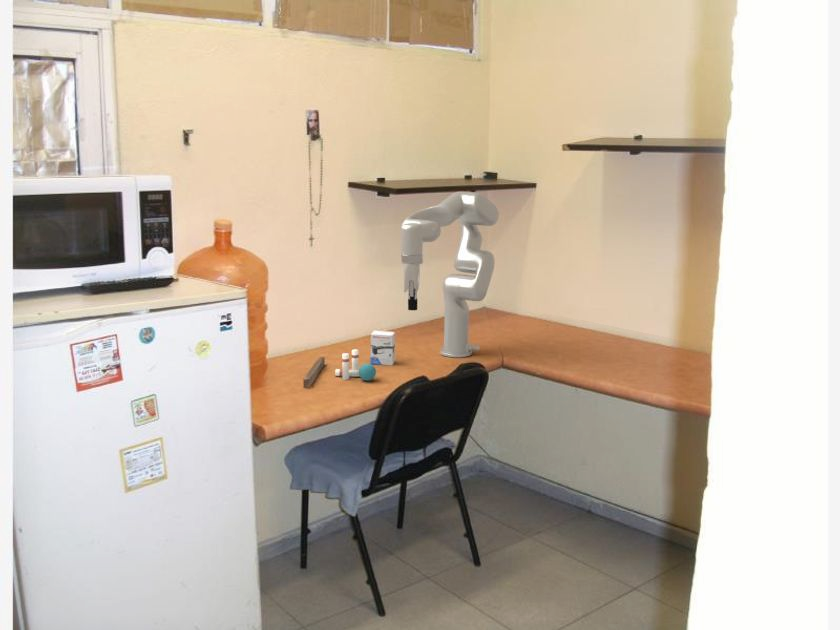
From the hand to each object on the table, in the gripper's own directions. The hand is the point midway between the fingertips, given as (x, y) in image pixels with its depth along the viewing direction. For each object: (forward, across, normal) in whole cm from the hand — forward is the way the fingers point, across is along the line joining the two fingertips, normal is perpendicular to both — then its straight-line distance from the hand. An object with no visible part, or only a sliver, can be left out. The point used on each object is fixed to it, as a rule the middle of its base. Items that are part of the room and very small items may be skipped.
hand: (412, 309), depth 284 cm
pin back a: (+22, +6, -20) cm, 31 cm away
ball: (+19, +12, -15) cm, 27 cm away
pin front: (+21, +9, -18) cm, 29 cm away
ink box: (+24, -10, -12) cm, 28 cm away
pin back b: (+22, +12, -23) cm, 34 cm away
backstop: (+22, +9, -34) cm, 42 cm away
